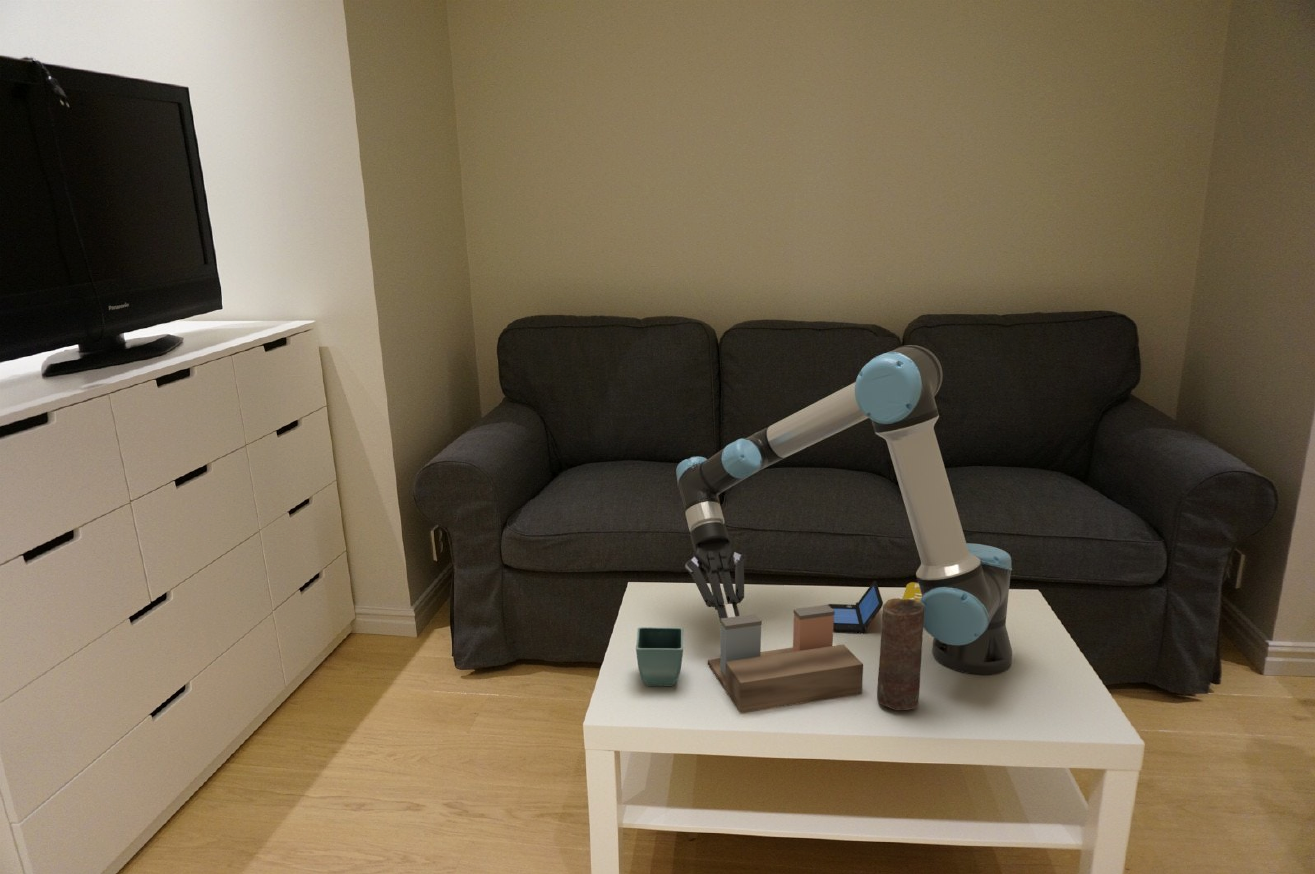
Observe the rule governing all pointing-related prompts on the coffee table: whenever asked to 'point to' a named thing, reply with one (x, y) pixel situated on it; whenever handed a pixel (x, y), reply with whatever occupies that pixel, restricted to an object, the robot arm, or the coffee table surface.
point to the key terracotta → (813, 627)
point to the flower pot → (659, 655)
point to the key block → (790, 677)
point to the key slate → (740, 638)
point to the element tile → (912, 592)
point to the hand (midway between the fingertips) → (734, 638)
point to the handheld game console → (857, 612)
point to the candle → (900, 654)
